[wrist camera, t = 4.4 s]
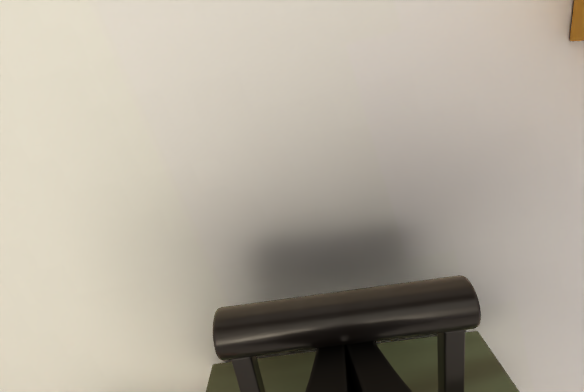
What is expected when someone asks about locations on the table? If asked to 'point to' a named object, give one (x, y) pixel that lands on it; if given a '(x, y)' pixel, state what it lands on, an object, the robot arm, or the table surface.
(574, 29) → the block
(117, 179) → the table surface
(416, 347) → the drawer
